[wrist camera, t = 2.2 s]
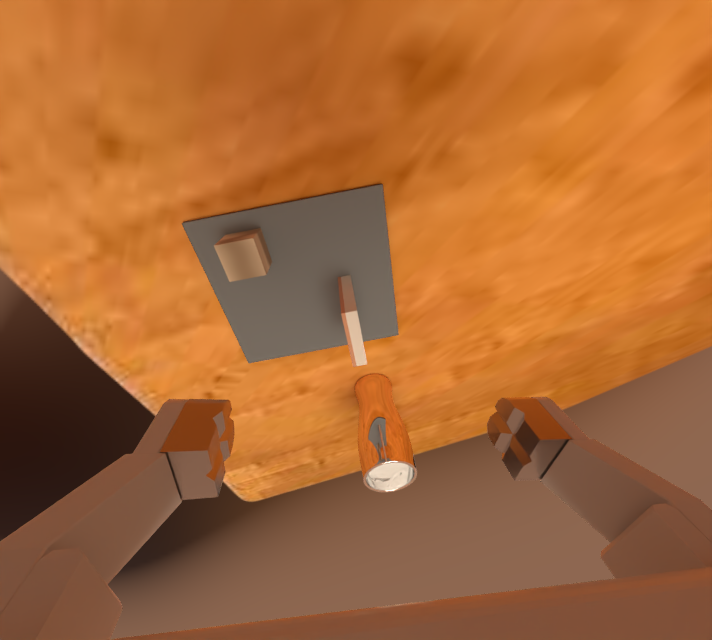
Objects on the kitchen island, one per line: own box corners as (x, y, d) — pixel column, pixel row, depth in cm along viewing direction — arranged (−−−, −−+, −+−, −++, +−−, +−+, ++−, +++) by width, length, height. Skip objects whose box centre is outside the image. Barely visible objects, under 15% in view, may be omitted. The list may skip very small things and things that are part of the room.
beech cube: (260, 227, 32) (253, 237, 29) (272, 261, 34) (266, 274, 31) (225, 234, 32) (213, 245, 29) (239, 268, 34) (229, 282, 31)
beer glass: (365, 365, 45) (382, 454, 32) (402, 380, 47) (430, 468, 34) (344, 394, 48) (351, 487, 35) (379, 407, 50) (397, 497, 37)
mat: (381, 183, 31) (382, 184, 31) (397, 332, 42) (398, 334, 41) (184, 222, 31) (181, 223, 31) (249, 360, 42) (248, 363, 42)
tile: (350, 274, 36) (357, 310, 28) (359, 321, 40) (367, 364, 32) (337, 277, 36) (341, 313, 28) (347, 323, 40) (353, 366, 32)
